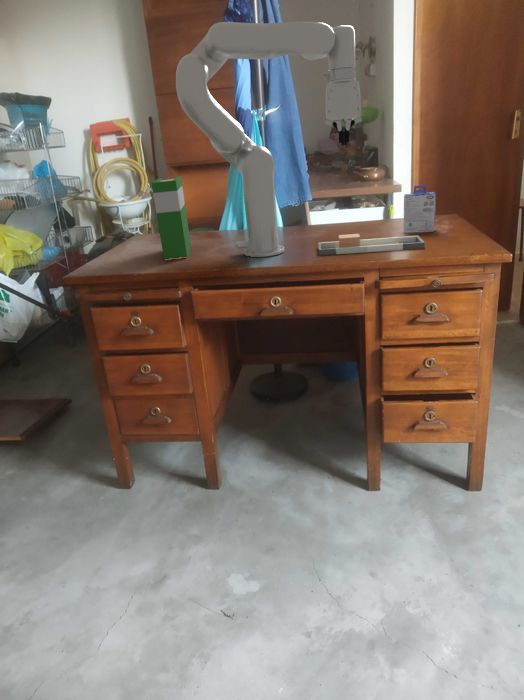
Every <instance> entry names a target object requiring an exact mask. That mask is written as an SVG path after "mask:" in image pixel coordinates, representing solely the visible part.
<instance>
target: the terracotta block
mask: <svg viewBox="0 0 524 700" xmlns="http://www.w3.org/2000/svg"><path fill="white" fill-rule="evenodd" d="M360 240H361V236H360V233H352V234H351V233H350V234H349V233H348V234H338V241H339V248H343V247H358V246H360Z"/></svg>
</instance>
